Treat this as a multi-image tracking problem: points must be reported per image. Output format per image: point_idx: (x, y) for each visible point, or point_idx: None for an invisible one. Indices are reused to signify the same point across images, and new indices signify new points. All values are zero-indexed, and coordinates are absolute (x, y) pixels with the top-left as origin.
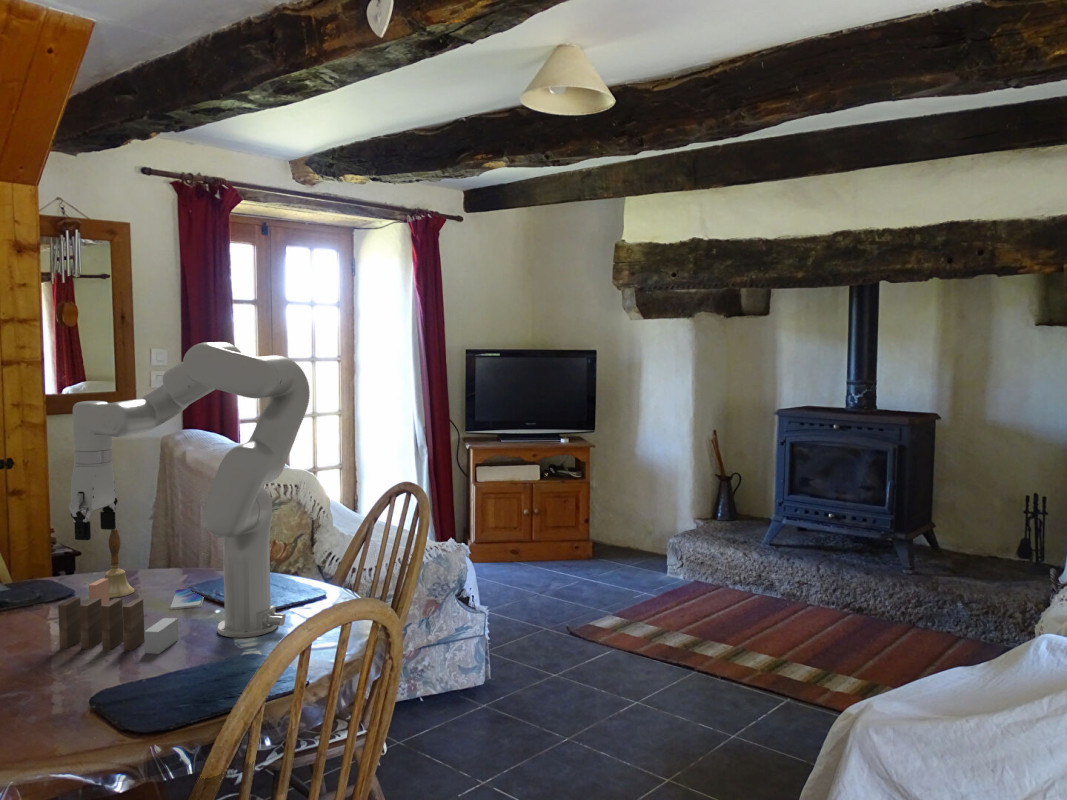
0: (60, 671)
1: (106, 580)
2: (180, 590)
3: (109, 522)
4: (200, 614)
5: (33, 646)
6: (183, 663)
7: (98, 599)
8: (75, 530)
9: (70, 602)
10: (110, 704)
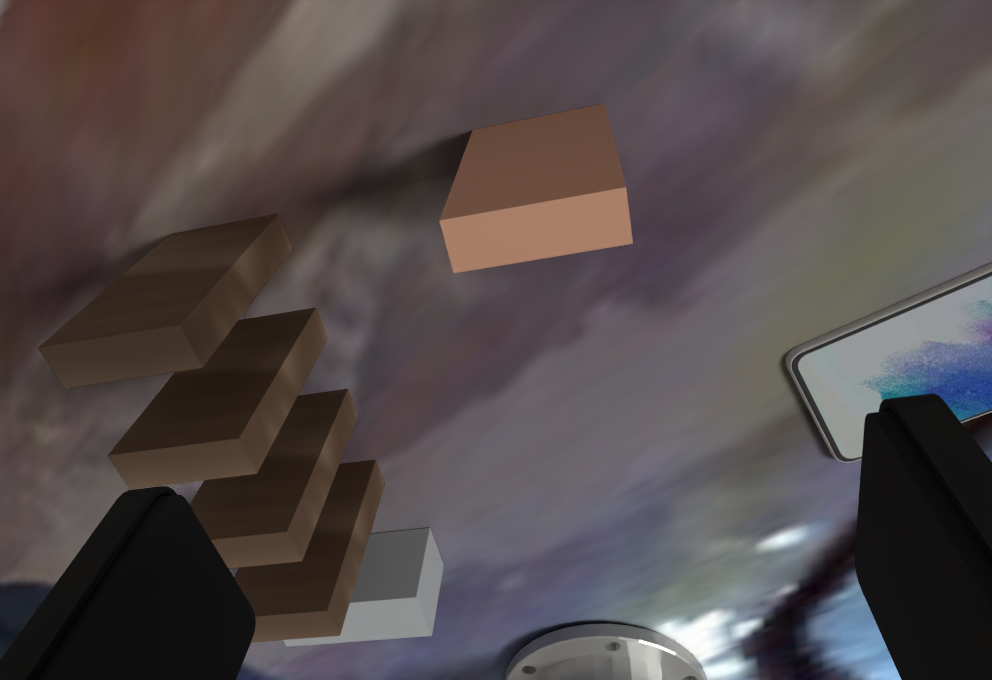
0: (33, 404)
1: (603, 245)
2: None
3: (904, 634)
4: (729, 503)
5: (115, 86)
6: (285, 656)
7: (232, 475)
8: (50, 611)
9: (111, 377)
10: (3, 637)
